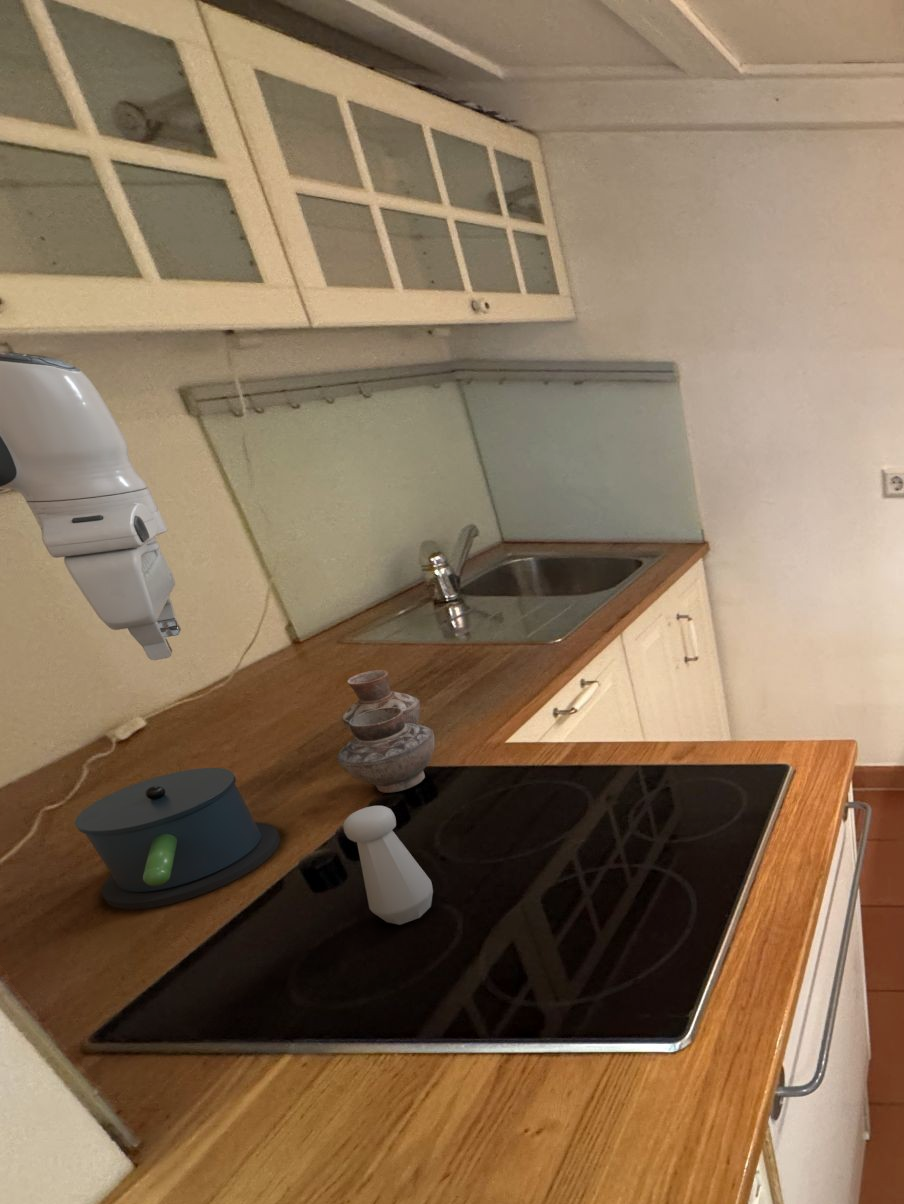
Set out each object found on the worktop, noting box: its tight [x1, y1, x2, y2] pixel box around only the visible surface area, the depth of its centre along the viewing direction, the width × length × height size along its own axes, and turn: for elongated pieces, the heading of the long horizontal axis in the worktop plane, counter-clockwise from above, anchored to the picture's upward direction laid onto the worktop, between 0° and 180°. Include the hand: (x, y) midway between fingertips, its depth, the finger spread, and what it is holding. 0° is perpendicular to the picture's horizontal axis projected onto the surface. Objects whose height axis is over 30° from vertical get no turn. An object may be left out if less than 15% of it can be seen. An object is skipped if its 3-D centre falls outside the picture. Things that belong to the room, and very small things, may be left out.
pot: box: [74, 767, 261, 892], centre depth 88 cm, size 22×14×10 cm, turn 39°
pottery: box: [336, 669, 436, 794], centre depth 112 cm, size 11×25×12 cm, turn 38°
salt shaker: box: [342, 805, 434, 926], centre depth 82 cm, size 6×6×13 cm
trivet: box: [100, 821, 281, 911], centre depth 93 cm, size 16×16×1 cm
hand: (167, 645), depth 86 cm, fingers open, 8 cm apart
